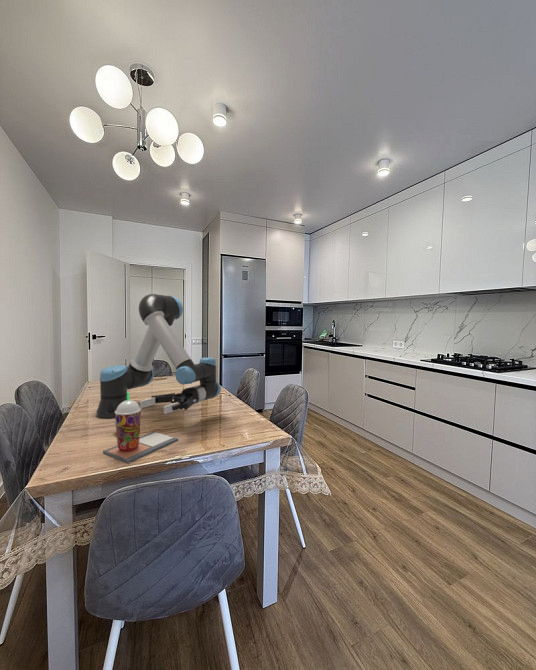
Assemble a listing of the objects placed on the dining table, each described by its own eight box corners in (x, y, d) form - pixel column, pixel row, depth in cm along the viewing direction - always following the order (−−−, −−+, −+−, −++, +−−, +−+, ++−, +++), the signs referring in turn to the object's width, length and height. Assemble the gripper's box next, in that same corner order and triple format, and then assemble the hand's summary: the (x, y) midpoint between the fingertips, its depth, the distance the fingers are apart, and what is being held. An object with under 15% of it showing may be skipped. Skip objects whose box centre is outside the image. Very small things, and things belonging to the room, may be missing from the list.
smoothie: (124, 456, 95) (123, 396, 94) (110, 450, 99) (109, 393, 98) (146, 447, 102) (146, 391, 101) (132, 441, 106) (132, 388, 105)
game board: (103, 453, 99) (102, 450, 99) (154, 433, 117) (154, 430, 117) (128, 463, 92) (127, 460, 92) (178, 440, 110) (178, 438, 110)
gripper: (214, 408, 120) (175, 423, 102) (173, 399, 133) (131, 411, 114) (214, 390, 120) (175, 402, 101) (173, 383, 132) (131, 393, 114)
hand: (151, 407), depth 108 cm, fingers open, 13 cm apart
